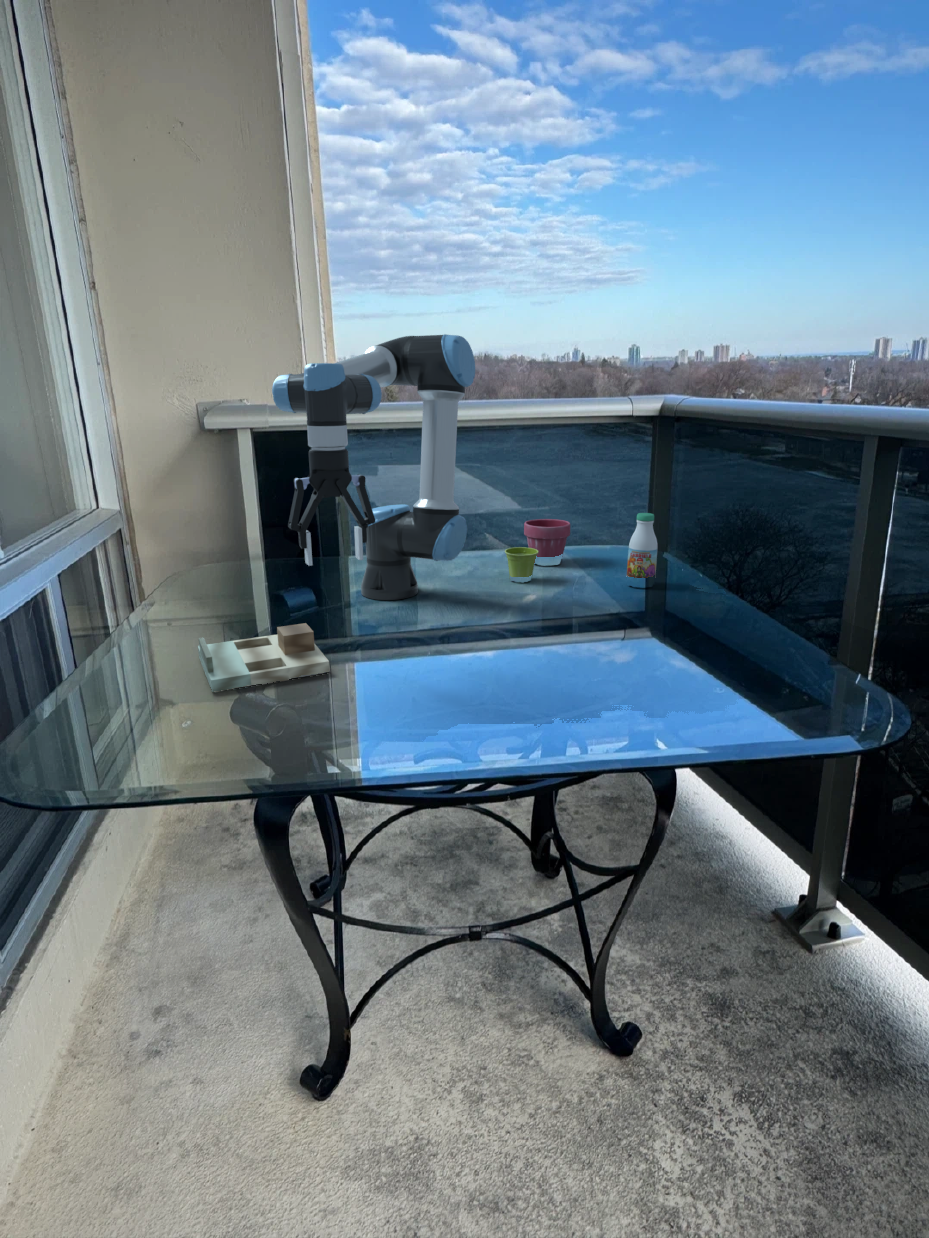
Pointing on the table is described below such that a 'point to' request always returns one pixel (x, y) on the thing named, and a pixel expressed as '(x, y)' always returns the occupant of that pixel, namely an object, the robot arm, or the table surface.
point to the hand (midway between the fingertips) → (334, 561)
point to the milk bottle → (642, 548)
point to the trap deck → (255, 662)
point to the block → (295, 638)
